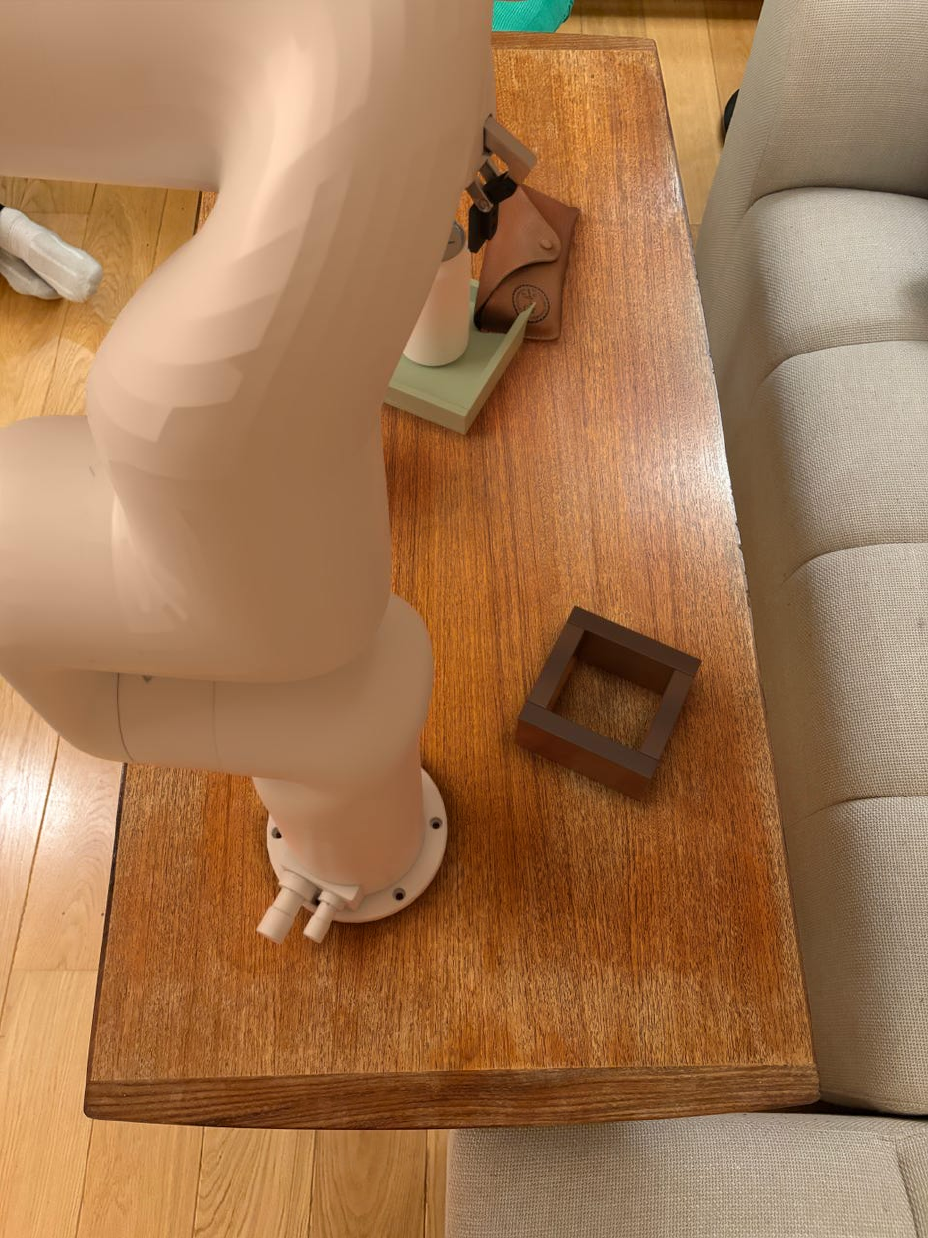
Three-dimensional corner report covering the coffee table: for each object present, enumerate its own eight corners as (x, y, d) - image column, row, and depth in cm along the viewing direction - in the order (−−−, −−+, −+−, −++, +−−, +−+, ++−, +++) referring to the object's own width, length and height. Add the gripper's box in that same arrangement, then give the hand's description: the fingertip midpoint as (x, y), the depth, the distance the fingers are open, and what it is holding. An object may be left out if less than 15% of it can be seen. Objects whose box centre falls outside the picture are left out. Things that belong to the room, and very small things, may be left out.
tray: (464, 435, 87) (465, 416, 85) (318, 376, 90) (315, 356, 88) (534, 322, 94) (536, 302, 91) (395, 270, 96) (394, 248, 94)
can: (389, 323, 92) (381, 217, 82) (456, 308, 93) (458, 201, 83) (408, 376, 90) (403, 273, 79) (478, 360, 91) (482, 256, 80)
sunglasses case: (565, 340, 91) (532, 288, 87) (497, 360, 95) (462, 311, 90) (582, 204, 100) (553, 149, 95) (519, 226, 103) (488, 175, 98)
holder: (639, 801, 73) (651, 779, 68) (513, 743, 75) (517, 718, 70) (687, 687, 77) (702, 660, 72) (567, 634, 79) (574, 604, 74)
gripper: (270, -10, 64) (304, 215, 79) (519, 69, 60) (504, 289, 75) (330, -68, 67) (351, 159, 82) (569, 4, 63) (545, 227, 78)
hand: (424, 221), depth 78 cm, fingers open, 9 cm apart
